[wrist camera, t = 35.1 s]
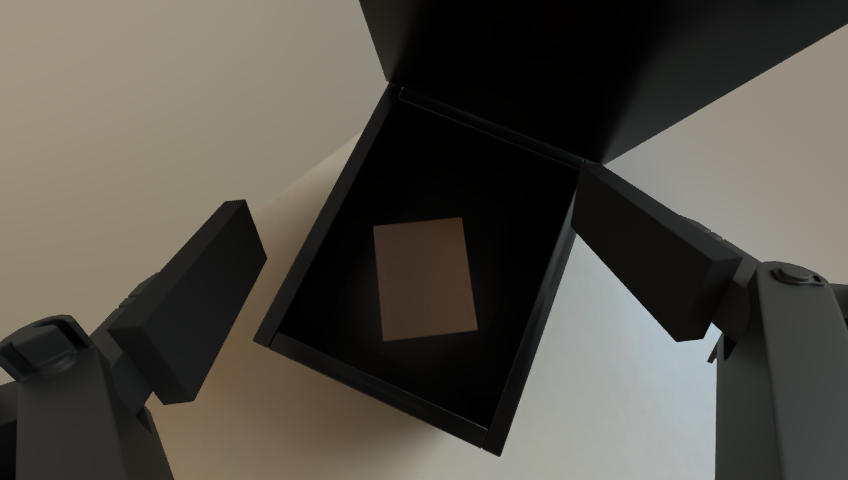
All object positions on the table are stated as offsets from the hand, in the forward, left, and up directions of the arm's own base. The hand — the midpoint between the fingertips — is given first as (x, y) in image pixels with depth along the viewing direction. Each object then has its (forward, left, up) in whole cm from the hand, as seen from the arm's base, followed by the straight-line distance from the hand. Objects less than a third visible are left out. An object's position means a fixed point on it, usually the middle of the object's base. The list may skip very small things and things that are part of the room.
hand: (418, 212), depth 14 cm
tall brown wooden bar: (-2, +2, -13) cm, 13 cm away
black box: (-1, 0, -14) cm, 14 cm away
